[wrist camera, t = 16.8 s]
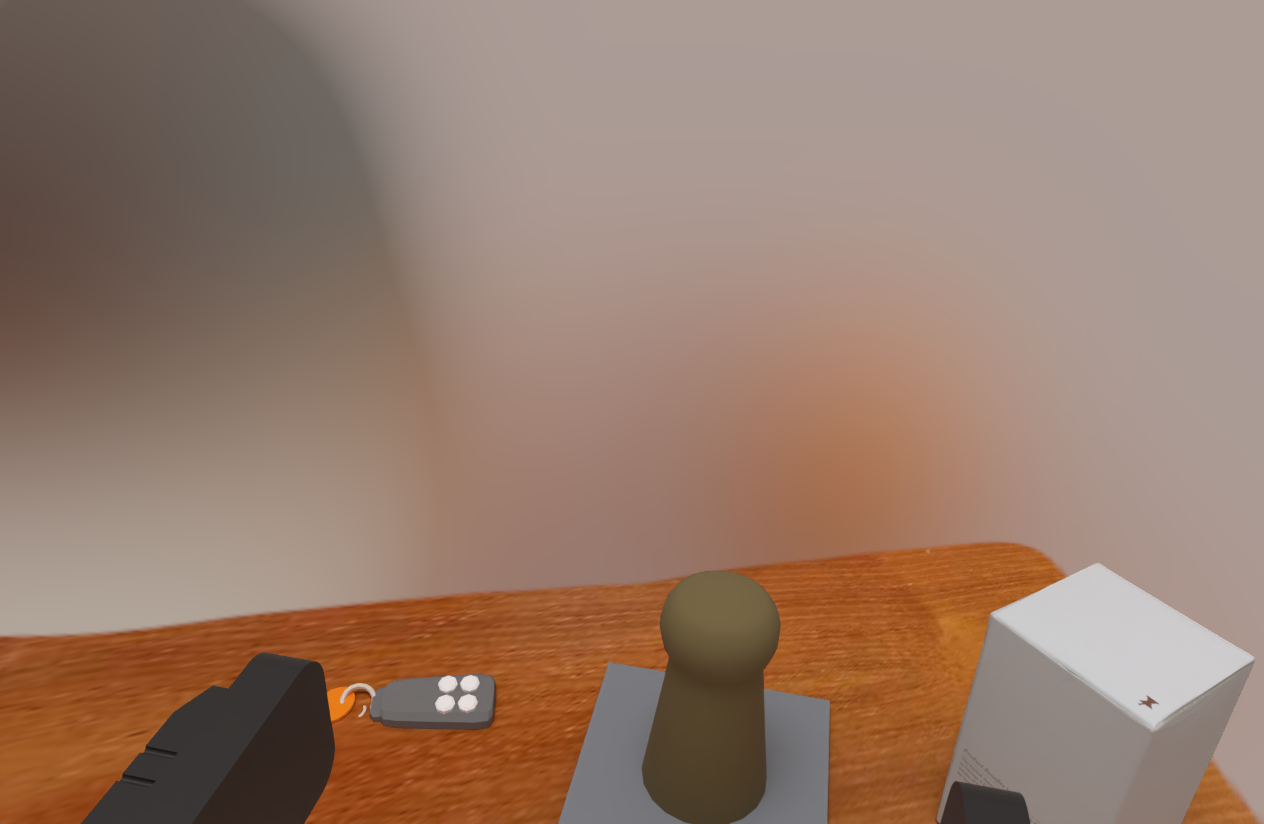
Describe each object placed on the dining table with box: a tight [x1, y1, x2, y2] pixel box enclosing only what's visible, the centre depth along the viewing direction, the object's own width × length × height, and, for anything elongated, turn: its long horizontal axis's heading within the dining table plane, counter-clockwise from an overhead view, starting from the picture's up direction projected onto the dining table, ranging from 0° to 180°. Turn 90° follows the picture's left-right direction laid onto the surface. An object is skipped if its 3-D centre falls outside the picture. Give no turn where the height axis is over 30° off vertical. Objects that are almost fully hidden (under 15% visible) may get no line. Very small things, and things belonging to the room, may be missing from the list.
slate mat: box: [558, 662, 830, 824], centre depth 46 cm, size 12×12×1 cm
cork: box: [642, 571, 780, 824], centre depth 43 cm, size 6×6×11 cm
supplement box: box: [936, 563, 1255, 824], centre depth 41 cm, size 7×7×13 cm
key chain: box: [327, 674, 495, 730], centre depth 49 cm, size 13×4×2 cm, turn 94°
